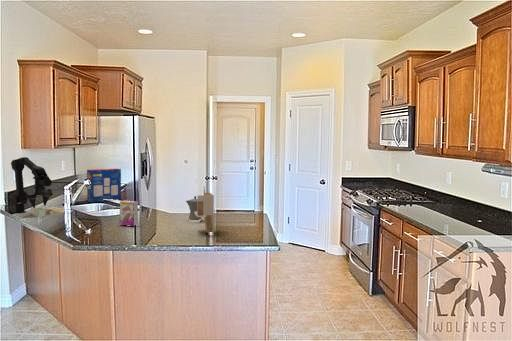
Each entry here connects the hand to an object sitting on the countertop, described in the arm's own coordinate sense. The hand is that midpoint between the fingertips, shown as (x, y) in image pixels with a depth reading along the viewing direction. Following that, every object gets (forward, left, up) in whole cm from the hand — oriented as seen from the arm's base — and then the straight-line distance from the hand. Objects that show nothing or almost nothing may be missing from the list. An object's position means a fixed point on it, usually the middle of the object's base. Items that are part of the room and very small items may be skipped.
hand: (39, 206), depth 307 cm
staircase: (+131, +6, -7) cm, 132 cm away
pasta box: (-11, +80, -7) cm, 81 cm away
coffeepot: (+109, +35, -7) cm, 115 cm away
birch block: (+1, +13, -7) cm, 15 cm away
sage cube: (0, 0, -7) cm, 7 cm away
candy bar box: (+77, +2, -7) cm, 77 cm away
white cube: (-9, +5, -7) cm, 12 cm away
